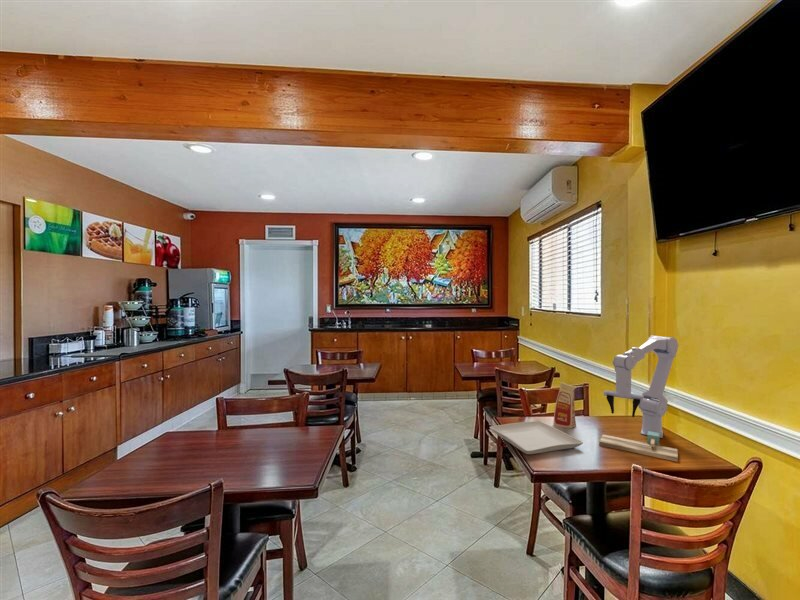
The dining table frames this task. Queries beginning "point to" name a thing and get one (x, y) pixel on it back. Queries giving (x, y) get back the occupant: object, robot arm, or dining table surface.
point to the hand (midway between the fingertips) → (622, 414)
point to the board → (639, 447)
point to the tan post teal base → (652, 438)
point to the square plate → (535, 437)
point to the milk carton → (565, 407)
